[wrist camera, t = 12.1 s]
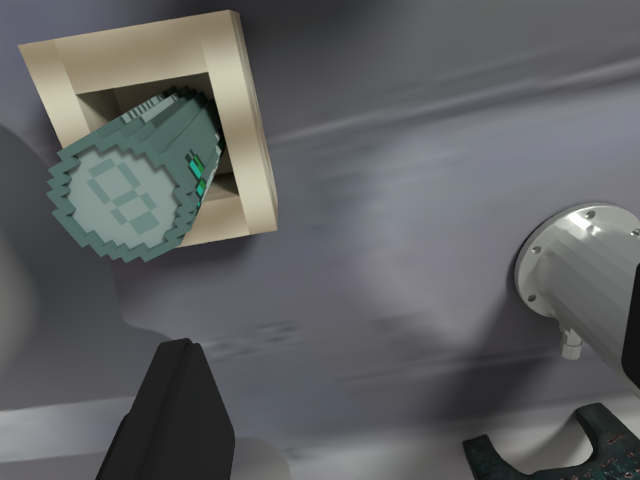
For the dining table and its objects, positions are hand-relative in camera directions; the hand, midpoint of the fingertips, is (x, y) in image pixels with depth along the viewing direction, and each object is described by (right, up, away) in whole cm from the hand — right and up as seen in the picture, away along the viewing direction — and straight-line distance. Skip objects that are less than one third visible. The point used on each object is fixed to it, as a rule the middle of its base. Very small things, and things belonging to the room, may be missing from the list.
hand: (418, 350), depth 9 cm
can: (-12, +11, +23) cm, 29 cm away
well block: (-13, +11, +24) cm, 29 cm away
